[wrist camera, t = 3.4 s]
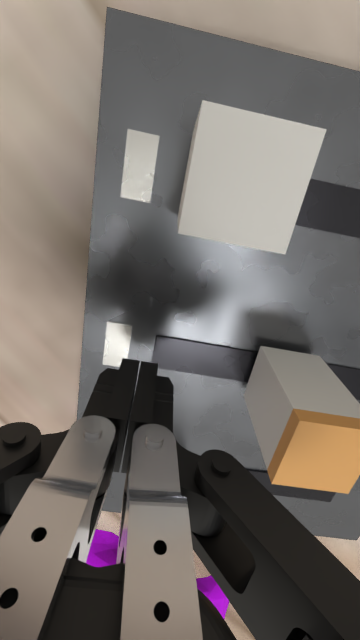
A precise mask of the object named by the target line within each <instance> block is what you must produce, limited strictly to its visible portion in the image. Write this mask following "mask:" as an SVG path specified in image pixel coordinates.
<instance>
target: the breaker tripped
mask: <svg viewBox="0 0 360 640" xmlns="http://www.w3.org/2000/svg"><path fill="white" fill-rule="evenodd" d="M244 399H245V402H246V405H247V408H248V412H249V415H250V418H251V421H252V424H253V427H254V430H255V434H256V437H257V440H258V443H259V446H260V449H261V452H262V456H263V459H264V462H265V465H266V468H267V471H268V475H269V478H270V481H271V484H276V485H284V486H292V487H299V488H307V489H315V490H322V491H330V492H338V493H345V494H349V492H350V490H351V489H352V487H353V485H354V484H355V482H356V480H357V479H358V477H359V475H360V403H359V402H358V401H357V400H356V399H355V397H354V396H353V395H352V394H351V393H350V391H349V390H348V389H347V388H346V387H345V385H344V384H343V383H342V382H341V381H340V380H339V378H338V377H337V376H336V375H335V374H334V372H333V371H332V370H331V369H330V368H329V366H328V365H327V364H326V363H325V362H324V360H323V359H322V358H321V357H320V356H318V355H312V354H306V353H300V352H294V351H289V350H283V349H277V348H271V347H265V346H260V349H259V352H258V355H257V358H256V361H255V364H254V366H253V369H252V372H251V375H250V378H249V381H248V384H247V387H246V390H245V393H244Z"/></svg>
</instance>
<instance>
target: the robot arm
mask: <svg viewBox="0 0 360 640" xmlns="http://www.w3.org/2000/svg"><path fill="white" fill-rule="evenodd" d="M139 363H140V361H139V360H132V359H126V358H122V361H121V365H120V368H119V370H118V369H112V368H107V369H106V370H104V371H103V372H102V373H100V374H99V377H98V379H97V382H96V384H95V387H94V389H93V391H92V394H91V396H90V399H89V401H88V404H87V406H86V409H85V411H84V413H83V416H82V418H80V419H78V420H77V421H76V422H75V423H74V424H73V425H72V426H71V428H70V429H69V430H67V431H64V432H60V433H54V434H46V435H41V432H40V430H39V429H38V428H37V427H36V426H34V425H33V424H30V423H25V422H16V423H11V424H7V425H5V426H2V427H0V640H236V638H235V636H234V635H233V633H232V632H231V630H230V628H229V627H228V625H227V623H226V622H225V620H224V619H223V617H222V616H221V614H220V613H219V611H218V610H217V608H216V607H215V606H214V605H213V603H212V602H211V601H210V600H209V599H208V598H207V597H206V596H205V595H204V594H203V593H202V592H201V591H200V590H198V589H197V582H196V573H195V564H194V555H193V550H194V551H195V552H196V554H197V555H198V557H199V558H200V560H201V561H202V563H203V564H204V565H205V567H206V568H207V570H208V571H209V573H210V574H211V576H212V577H213V578H214V580H215V581H216V583H217V584H218V586H219V587H220V588H221V590H222V591H223V593H224V594H225V596H226V597H227V599H228V600H229V601H230V603H231V604H232V606H233V607H234V609H235V610H236V611H237V613H238V614H239V616H240V617H241V619H242V620H243V622H244V623H245V624H246V626H247V627H248V629H249V630H250V632H251V633H252V634H253V636H254V637H255V639H256V640H360V581H359V580H358V579H357V578H356V577H355V576H354V575H353V574H352V573H351V572H350V571H349V570H348V569H347V568H346V567H345V566H344V565H343V564H342V563H341V562H340V561H339V560H338V559H337V558H336V557H335V556H334V555H333V554H332V553H331V552H330V551H329V550H328V549H327V548H326V547H325V546H324V545H323V544H322V543H321V542H320V541H319V540H318V539H317V538H316V537H315V536H314V535H313V534H312V533H311V532H310V531H309V530H308V529H307V528H306V527H305V526H303V525H302V524H301V523H300V522H299V521H298V520H297V519H296V518H295V517H294V516H293V515H292V514H291V513H290V512H289V511H288V510H287V509H286V508H285V507H284V506H283V505H282V504H281V503H280V502H279V501H278V500H277V499H276V498H275V497H274V496H273V495H272V494H271V493H270V492H269V491H268V490H267V489H266V488H265V487H264V486H263V485H262V484H261V483H260V482H259V481H258V480H257V479H256V478H255V477H254V476H253V475H252V474H251V473H250V472H249V471H248V470H247V469H246V468H245V467H244V466H243V465H242V464H241V463H240V462H239V461H238V460H237V459H236V458H234V457H233V456H232V455H231V454H229V453H227V452H225V451H222V450H216V449H213V450H208V451H205V452H204V453H203V454H202V455H201V456H200V455H197V454H195V453H193V452H190V451H188V450H186V449H185V448H183V447H182V446H181V445H180V444H179V443H178V442H177V440H176V439H175V436H174V434H173V394H174V385H173V384H172V382H171V380H170V378H169V377H164V376H157V372H158V363H152V362H145V361H141V365H140V370H139ZM138 370H139V375H138ZM137 376H138V380H137ZM136 382H137V385H136ZM135 388H136V390H135ZM134 394H135V395H134ZM128 425H129V426H128ZM127 430H128V432H127ZM126 435H127V438H126ZM125 440H126V445H125ZM124 445H125V451H124V457H123V463H122V469H121V473H126V479H125V485H124V491H123V497H122V507H121V518H120V529H119V540H118V551H117V560H116V564H114V565H109V566H103V567H94V566H91V565H89V564H87V563H86V560H87V556H88V553H89V549H90V546H91V543H92V540H93V536H94V533H95V530H96V527H97V524H98V520H99V517H100V514H101V511H102V507H103V504H104V501H105V498H106V494H107V489H108V487H109V485H110V482H111V477H112V473H113V472H119V470H120V465H121V460H122V455H123V450H124Z"/></svg>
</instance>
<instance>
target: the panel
mask: <svg viewBox="0 0 360 640" xmlns="http://www.w3.org/2000/svg"><path fill="white" fill-rule="evenodd" d="M202 100H205V101H209V102H213V103H217V104H222V105H226V106H230V107H234V108H238V109H243V110H247V111H251V112H255V113H260V114H264V115H268V116H272V117H276V118H281V119H285V120H289V121H293V122H298V123H302V124H306V125H310V126H314V127H319V128H323V129H327V130H326V133H325V136H324V139H323V142H322V145H321V148H320V151H319V154H318V157H317V160H316V163H315V166H314V169H313V172H312V175H311V178H310V181H309V184H308V187H307V190H306V193H305V196H304V199H303V202H302V205H301V208H300V211H299V215H298V218H297V221H296V224H295V227H294V230H293V233H292V236H291V239H290V242H289V245H288V248H287V251H286V254H280V253H275V252H269V251H264V250H259V249H254V248H249V247H244V246H239V245H234V244H229V243H224V242H219V241H214V240H209V239H204V238H199V237H193V236H188V235H183V234H178V212H179V207H180V201H181V196H182V190H183V184H184V179H185V173H186V168H187V162H188V157H189V151H190V146H191V140H192V135H193V130H194V127H195V124H196V120H197V117H198V113H199V110H200V107H201V103H202ZM260 346H265V347H271V348H277V349H283V350H289V351H294V352H300V353H306V354H312V355H318V356H320V357H321V358H322V359H323V360H324V362H325V363H326V364H327V365H328V366H329V368H330V369H331V370H332V371H333V372H334V374H335V375H336V376H337V377H338V378H339V380H340V381H341V382H342V383H343V384H344V385H345V387H346V388H347V389H348V390H349V391H350V393H351V394H352V395H353V396H354V397H355V399H356V400H357V401H358V402H359V403H360V72H359V71H355V70H352V69H348V68H344V67H340V66H336V65H332V64H328V63H324V62H320V61H316V60H313V59H309V58H305V57H301V56H297V55H293V54H289V53H285V52H281V51H277V50H273V49H270V48H266V47H262V46H258V45H254V44H250V43H246V42H242V41H238V40H234V39H231V38H227V37H223V36H219V35H215V34H211V33H207V32H203V31H199V30H195V29H192V28H188V27H184V26H180V25H176V24H172V23H168V22H164V21H160V20H156V19H152V18H149V17H145V16H141V15H137V14H133V13H129V12H125V11H121V10H117V9H113V8H110V7H107V14H106V28H105V41H104V55H103V69H102V82H101V96H100V110H99V123H98V137H97V150H96V164H95V178H94V191H93V205H92V219H91V232H90V246H89V260H88V273H87V287H86V301H85V314H84V328H83V342H82V355H81V369H80V383H79V396H78V410H77V420H78V419H80V418H82V416H83V413H84V411H85V409H86V406H87V404H88V401H89V399H90V396H91V394H92V391H93V389H94V387H95V384H96V382H97V379H98V377H99V374H100V373H102V372H103V371H104V370H106V369H107V368H112V369H118V370H119V368H120V365H121V361H122V358H126V359H132V360H139V361H140V363H139V370H140V365H141V361H145V362H152V363H158V372H157V376H164V377H169V378H170V380H171V382H172V384H173V385H174V394H173V434H174V436H175V439H176V440H177V442H178V443H179V444H180V445H181V446H182V447H183V448H185V449H186V450H188V451H190V452H193V453H195V454H197V455H200V456H201V455H202V454H203V453H204V452H205V451H208V450H213V449H216V450H222V451H225V452H227V453H229V454H231V455H232V456H233V457H234V458H236V459H237V460H238V461H239V462H240V463H241V464H242V465H243V466H244V467H245V468H246V469H247V470H248V471H249V472H250V473H251V474H252V475H253V476H254V477H255V478H256V479H257V480H258V481H259V482H260V483H261V484H262V485H263V486H264V487H265V488H266V489H267V490H268V491H269V492H270V493H271V494H272V495H273V496H274V497H275V498H276V499H277V500H278V501H279V502H280V503H281V504H282V505H283V506H284V507H285V508H286V509H287V510H288V511H289V512H290V513H291V514H292V515H293V516H294V517H295V518H296V519H297V520H298V521H299V522H300V523H301V524H302V525H303V526H305V527H306V528H307V529H308V530H309V531H310V532H311V533H312V534H313V535H315V536H323V537H332V538H341V539H349V540H357V539H358V538H359V536H360V475H359V477H358V479H357V480H356V482H355V484H354V485H353V487H352V489H351V490H350V492H349V494H345V493H338V492H330V491H322V490H315V489H307V488H299V487H292V486H284V485H276V484H271V481H270V478H269V475H268V471H267V468H266V465H265V462H264V459H263V456H262V452H261V449H260V446H259V443H258V440H257V437H256V434H255V430H254V427H253V424H252V421H251V418H250V415H249V412H248V408H247V405H246V402H245V399H244V393H245V390H246V387H247V384H248V381H249V378H250V375H251V372H252V369H253V366H254V364H255V361H256V358H257V355H258V352H259V349H260ZM139 370H138V375H139ZM137 380H138V376H137ZM136 385H137V382H136ZM135 390H136V388H135ZM134 395H135V394H134ZM128 426H129V425H128ZM127 432H128V430H127ZM126 438H127V435H126ZM125 445H126V440H125ZM125 445H124V450H123V455H122V460H121V465H120V470H119V472H113V473H112V477H111V482H110V485H109V487H108V489H107V494H106V498H105V501H104V504H103V507H102V511H109V512H118V513H121V507H122V497H123V491H124V485H125V479H126V473H121V469H122V463H123V457H124V451H125Z"/></svg>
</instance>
